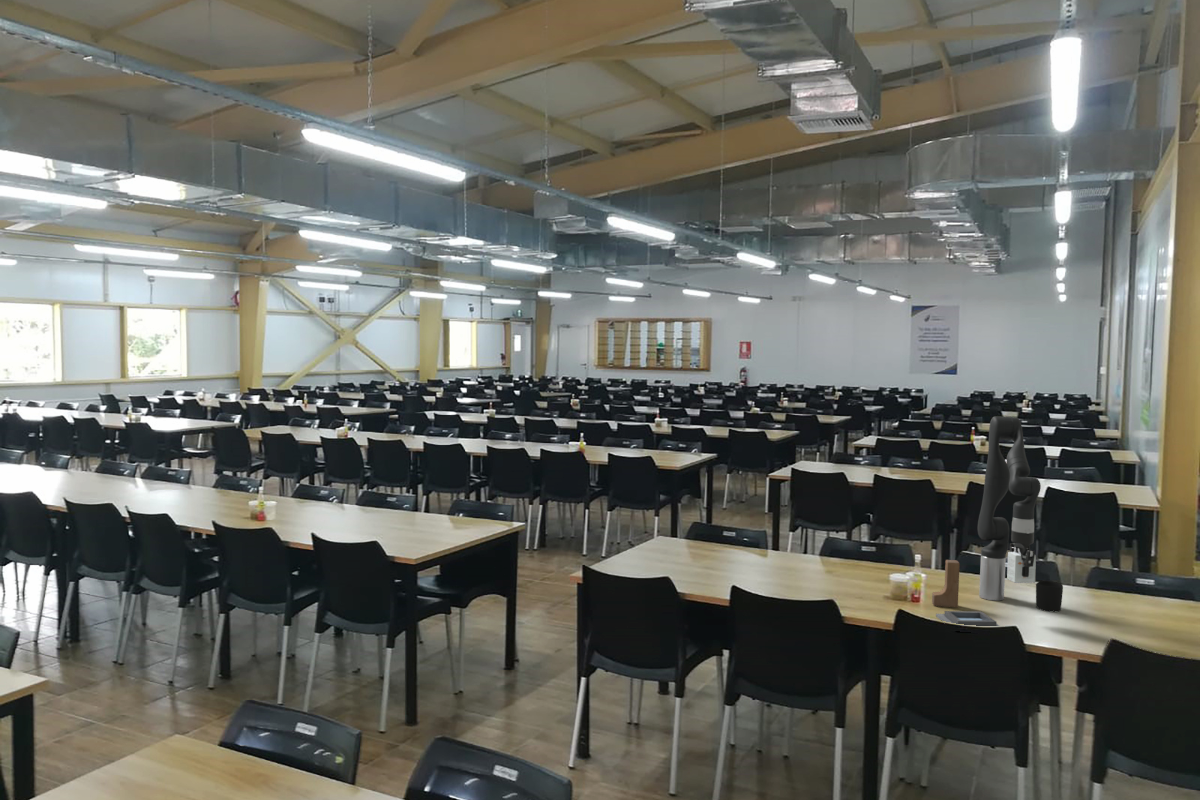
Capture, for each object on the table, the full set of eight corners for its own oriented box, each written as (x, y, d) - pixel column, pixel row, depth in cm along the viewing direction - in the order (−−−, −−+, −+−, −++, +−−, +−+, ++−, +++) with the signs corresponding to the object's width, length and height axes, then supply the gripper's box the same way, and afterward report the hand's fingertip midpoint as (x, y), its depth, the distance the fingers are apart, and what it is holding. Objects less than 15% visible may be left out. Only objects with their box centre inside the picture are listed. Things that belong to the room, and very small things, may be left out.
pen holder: (1067, 612, 329) (1068, 586, 329) (1045, 612, 328) (1046, 587, 327) (1051, 604, 339) (1052, 580, 338) (1029, 605, 337) (1030, 580, 337)
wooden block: (933, 606, 334) (935, 561, 333) (931, 603, 339) (933, 558, 337) (958, 608, 332) (959, 563, 331) (955, 604, 337) (957, 560, 336)
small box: (1027, 579, 320) (1028, 551, 319) (1035, 583, 314) (1036, 555, 314) (1006, 579, 319) (1007, 551, 319) (1014, 583, 314) (1015, 555, 313)
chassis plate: (935, 616, 321) (936, 608, 321) (983, 616, 321) (983, 609, 321) (955, 631, 303) (955, 623, 303) (1005, 632, 303) (1006, 624, 303)
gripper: (1003, 525, 323) (1001, 569, 324) (1022, 533, 308) (1020, 579, 309) (1022, 526, 323) (1021, 569, 324) (1043, 534, 309) (1041, 579, 310)
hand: (1020, 574), depth 317 cm, fingers closed on small box, 5 cm apart
